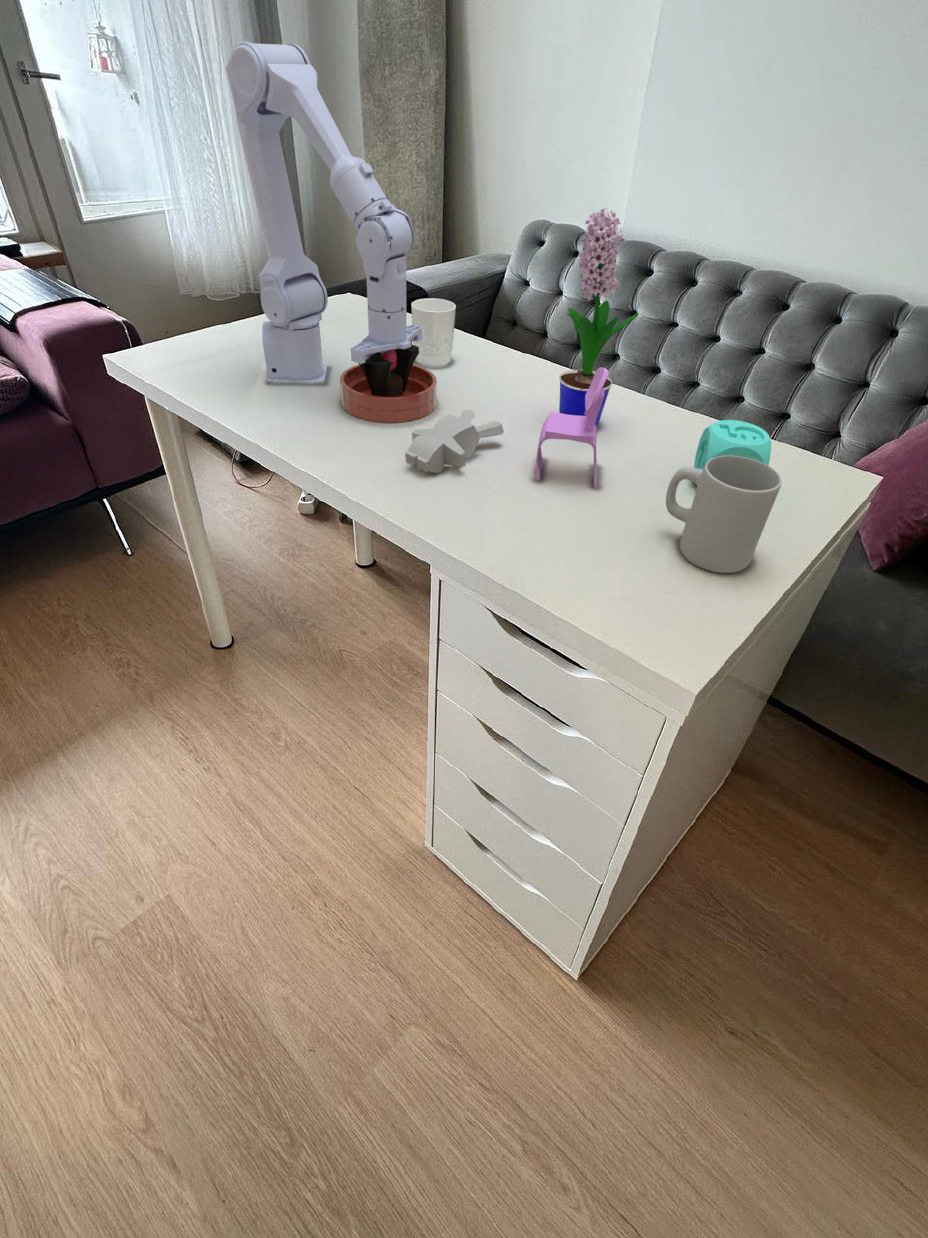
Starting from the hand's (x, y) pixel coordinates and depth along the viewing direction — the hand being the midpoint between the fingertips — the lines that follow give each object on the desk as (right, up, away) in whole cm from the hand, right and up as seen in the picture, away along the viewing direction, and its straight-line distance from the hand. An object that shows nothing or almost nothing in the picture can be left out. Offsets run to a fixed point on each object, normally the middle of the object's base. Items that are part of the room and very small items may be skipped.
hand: (388, 395), depth 108 cm
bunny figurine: (+10, -12, -11) cm, 19 cm away
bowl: (0, -1, +1) cm, 2 cm away
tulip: (0, -1, +1) cm, 1 cm away
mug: (+41, -27, -25) cm, 56 cm away
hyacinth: (+31, -5, 0) cm, 32 cm away
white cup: (+6, +12, +17) cm, 22 cm away
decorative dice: (+49, -17, -13) cm, 53 cm away
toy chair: (+27, -15, -13) cm, 33 cm away
